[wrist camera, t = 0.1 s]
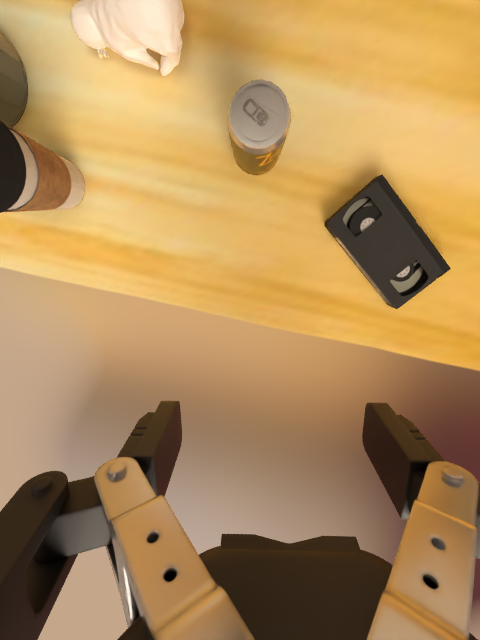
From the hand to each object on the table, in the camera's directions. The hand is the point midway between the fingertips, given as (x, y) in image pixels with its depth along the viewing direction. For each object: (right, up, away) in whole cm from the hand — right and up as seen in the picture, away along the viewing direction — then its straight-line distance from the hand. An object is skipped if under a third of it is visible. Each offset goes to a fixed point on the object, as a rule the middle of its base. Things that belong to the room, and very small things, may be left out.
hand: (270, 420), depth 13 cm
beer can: (+1, +24, +24) cm, 34 cm away
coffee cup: (-23, +21, +25) cm, 41 cm away
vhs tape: (+17, +14, +26) cm, 34 cm away
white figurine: (-12, +35, +21) cm, 43 cm away
